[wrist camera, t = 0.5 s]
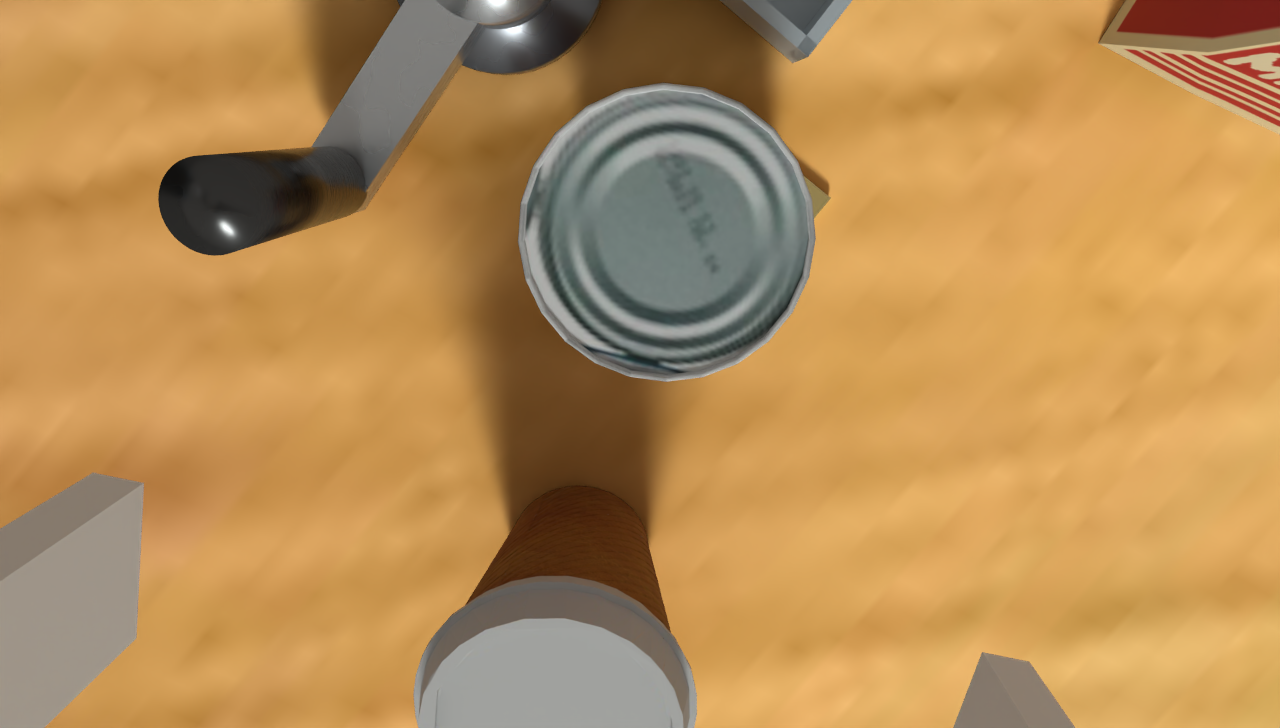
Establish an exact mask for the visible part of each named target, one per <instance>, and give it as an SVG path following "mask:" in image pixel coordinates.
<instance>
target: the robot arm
mask: <svg viewBox="0 0 1280 728" xmlns="http://www.w3.org/2000/svg"><path fill="white" fill-rule="evenodd" d="M143 491H144V483H141V482H136V481H131V480H126V479H121V478H116V477H111V476H106V475H101V474H96V473H92V474H90V475H89V476H87V477H85V478H84V479H82V480H80V481H79V482H77V483H75V484H74V485H72V486H70V487H69V488H67V489H65V490H64V491H62V492H60V493H59V494H57V495H55V496H54V497H52V498H50V499H49V500H47V501H45V502H44V503H42V504H40V505H39V506H37V507H36V508H34V509H32V510H31V511H29V512H27V513H26V514H24V515H22V516H21V517H19V518H17V519H16V520H14V521H12V522H11V523H9V524H7V525H6V526H4V527H2V528H1V529H0V728H44V727H45V726H46V725H47V724H48V723H49V722H51V721H52V720H53V719H54V718H55V717H56V716H57V715H58V714H59V713H60V712H61V711H62V710H63V709H64V708H65V707H66V706H67V705H68V704H69V703H70V702H71V701H72V700H73V699H74V698H75V697H76V696H77V695H78V694H79V693H80V692H81V691H82V690H83V689H85V688H86V687H87V686H88V685H89V684H90V683H91V682H92V681H93V680H94V679H95V678H96V677H97V676H98V675H99V674H100V673H101V672H102V671H103V670H104V669H105V668H106V667H107V666H108V665H109V664H110V663H111V662H112V661H113V660H114V659H115V658H116V657H117V656H119V655H120V654H121V653H122V652H123V651H124V650H125V649H126V648H127V647H128V646H129V645H130V644H131V643H132V642H133V641H134V640H135V639H136V635H137V614H138V594H139V573H140V553H141V532H142V511H143ZM953 728H1075V727H1074V725H1073V724H1072V722H1071V721H1070V719H1069V718H1068V717H1067V715H1066V714H1065V712H1064V711H1063V709H1062V708H1061V707H1060V705H1059V704H1058V702H1057V701H1056V699H1055V698H1054V696H1053V695H1052V694H1051V692H1050V691H1049V689H1048V688H1047V686H1046V685H1045V684H1044V682H1043V681H1042V679H1041V678H1040V676H1039V675H1038V674H1037V672H1036V671H1035V669H1034V668H1033V666H1032V665H1031V664H1030V662H1028V661H1023V660H1018V659H1013V658H1008V657H1003V656H998V655H994V654H989V653H984V652H982V654H981V657H980V659H979V662H978V665H977V667H976V670H975V672H974V675H973V678H972V680H971V683H970V686H969V688H968V691H967V693H966V696H965V699H964V701H963V704H962V706H961V709H960V712H959V714H958V717H957V719H956V722H955V725H954V727H953Z"/></svg>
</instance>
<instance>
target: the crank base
mask: <svg viewBox="0 0 1280 728" xmlns="http://www.w3.org/2000/svg"><path fill="white" fill-rule="evenodd" d="M397 1H398V3H399V5H400V7H401V6H402V4H403V3H404V1H405V0H397ZM601 2H602V0H551V2H550V3H549V4H548V5H547V7H546V8H545V9H544V10H543V11H542V12H541V13H540V14H539V15H537V16H536V17H535V18H533V19H532V20H530V21H528V22H526V23H525V24H522V25H520V26H517V27H513V28H508V29H488V28H486V29H485V31H484V32H483V34H482V35H481V37H480V38H479V40H478V41H477V43H476V44H475V46H474V47H473V49H472V50H471V52H470V53H469V55H468V56H467V58H466V59H465V61H464V62H463V64H462V65H463V66H466V67H469V68H472V69H474V70H478V71H482V72H486V73H491V74H501V75H512V74H522V73H527V72H532V71H535V70H538V69H540V68H543V67H546V66H548V65H549V64H551V63H553V62H555V61H557V60H558V59H560V58H561V57H563V56H564V55H565V54H567V53H568V52H569V51H570V50H571V49H572V48H573V47H574V46H576V45H577V44H578V43H579V41H580V40H581V39H582V38H583V36H584V35H585V34H586V33H587V31H588V29H589V28H590V26H591V25H592V23H593V21H594V20H595V17H596V15H597V13H598V11H599V8H600V6H601Z"/></svg>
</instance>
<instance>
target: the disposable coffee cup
mask: <svg viewBox="0 0 1280 728" xmlns="http://www.w3.org/2000/svg"><path fill="white" fill-rule="evenodd" d="M414 704H415V715H416V719H417V723H418V727H419V728H694V725H695V720H696V715H697V693H696V689H695V684H694V680H693V675H692V671H691V667H690V665H689V663H688V661H687V659H686V657H685V656H684V654H683V652H682V650H681V648H680V646H679V645H678V643H677V641H676V639H675V637H674V636H673V635H672V634H671V631H670V627H669V623H668V620H667V615H666V612H665V607H664V604H663V600H662V597H661V592H660V588H659V584H658V580H657V577H656V573H655V569H654V565H653V561H652V557H651V554H650V550H649V546H648V541H647V537H646V533H645V529H644V527H643V525H642V523H641V521H640V519H639V517H638V516H637V515H636V513H635V512H634V511H633V509H632V508H631V507H630V506H628V505H627V504H626V503H625V502H624V501H623V500H621V499H620V498H618V497H616V496H615V495H613V494H611V493H609V492H606V491H603V490H600V489H597V488H592V487H584V486H569V487H564V488H559V489H556V490H553V491H550V492H547V493H545V494H544V495H542V496H541V497H539V498H538V499H536V500H535V501H533V502H532V503H531V504H530V505H529V506H528V507H527V508H526V509H525V510H524V512H523V513H522V515H521V516H520V518H519V519H518V521H517V523H516V525H515V526H514V528H513V529H512V531H511V532H510V534H509V536H508V537H507V539H506V540H505V542H504V544H503V545H502V547H501V548H500V550H499V552H498V553H497V555H496V557H495V558H494V560H493V561H492V563H491V565H490V566H489V568H488V570H487V571H486V573H485V574H484V576H483V578H482V579H481V581H480V582H479V584H478V586H477V587H476V589H475V590H474V592H473V594H472V595H471V597H470V598H469V600H468V602H467V603H466V605H465V606H464V607H462V608H461V609H459V610H458V611H456V612H455V613H454V614H452V615H451V616H450V617H449V618H448V620H447V621H446V622H445V623H444V624H443V625H442V627H441V628H440V629H439V630H438V631H437V632H436V634H435V635H434V636H433V638H432V639H431V640H430V642H429V644H428V645H427V647H426V649H425V651H424V653H423V655H422V658H421V661H420V664H419V668H418V671H417V674H416V679H415V687H414Z"/></svg>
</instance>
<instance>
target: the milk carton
mask: <svg viewBox="0 0 1280 728" xmlns="http://www.w3.org/2000/svg"><path fill="white" fill-rule="evenodd" d="M1099 44H1101V45H1102V46H1104V47H1106V48H1108V49H1110V50H1112V51H1114V52H1116V53H1117V54H1119V55H1121V56H1123V57H1125V58H1127V59H1129V60H1131V61H1132V62H1134V63H1136V64H1138V65H1140V66H1142V67H1144V68H1146V69H1147V70H1149V71H1151V72H1153V73H1155V74H1157V75H1159V76H1160V77H1162V78H1164V79H1166V80H1168V81H1170V82H1172V83H1174V84H1175V85H1177V86H1179V87H1181V88H1183V89H1185V90H1187V91H1189V92H1190V93H1192V94H1194V95H1196V96H1198V97H1200V98H1203V99H1205V100H1207V101H1209V102H1211V103H1213V104H1215V105H1217V106H1220V107H1222V108H1224V109H1226V110H1228V111H1230V112H1232V113H1234V114H1237V115H1239V116H1241V117H1243V118H1245V119H1247V120H1249V121H1251V122H1254V123H1256V124H1258V125H1260V126H1262V127H1264V128H1266V129H1268V130H1271V131H1273V132H1275V133H1277V134H1279V135H1280V0H1125V2H1124V4H1123V5H1122V7H1121V8H1120V10H1119V11H1118V13H1117V15H1116V16H1115V18H1114V19H1113V21H1112V23H1111V24H1110V26H1109V27H1108V29H1107V30H1106V32H1105V34H1104V35H1103V37H1102V38H1101V40H1100V42H1099Z"/></svg>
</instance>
